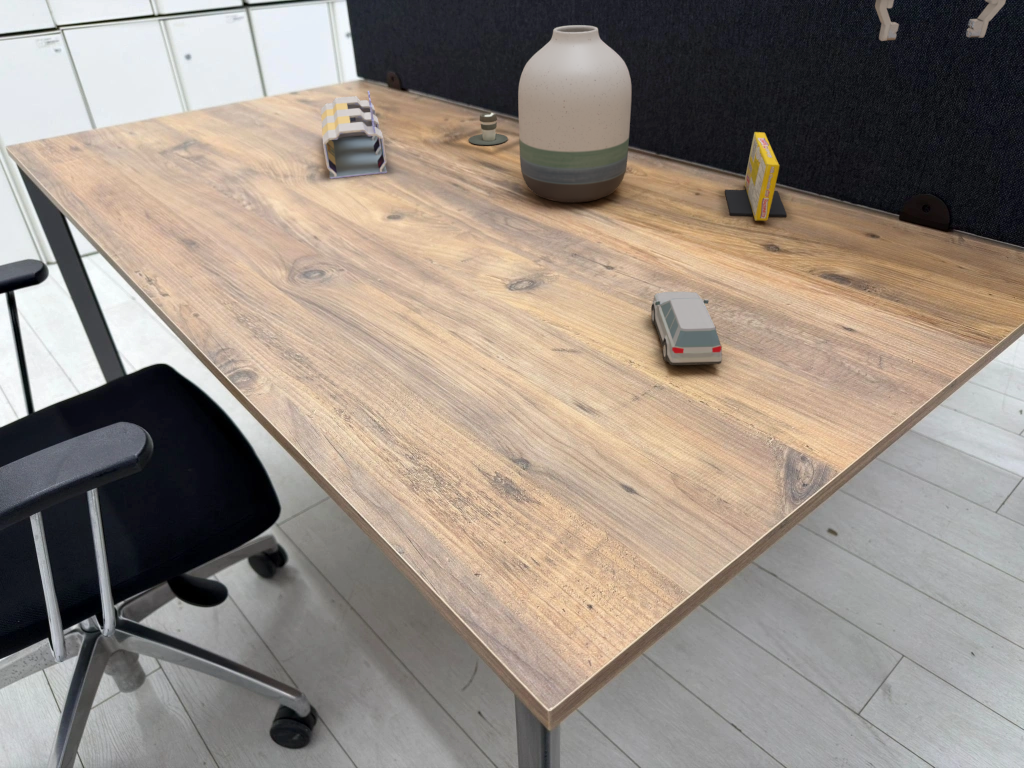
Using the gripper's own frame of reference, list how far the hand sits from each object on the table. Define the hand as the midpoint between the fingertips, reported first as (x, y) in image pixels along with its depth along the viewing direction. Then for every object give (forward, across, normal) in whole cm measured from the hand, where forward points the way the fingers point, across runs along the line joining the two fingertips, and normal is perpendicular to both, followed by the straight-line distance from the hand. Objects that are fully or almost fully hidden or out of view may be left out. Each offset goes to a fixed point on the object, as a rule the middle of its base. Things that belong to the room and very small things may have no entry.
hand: (930, 38), depth 84 cm
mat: (+24, -16, +12) cm, 31 cm away
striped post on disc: (+23, -63, +43) cm, 79 cm away
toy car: (+24, -27, -30) cm, 47 cm away
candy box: (+24, -15, +12) cm, 31 cm away
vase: (+24, -44, +15) cm, 52 cm away
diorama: (+22, -86, +32) cm, 95 cm away
